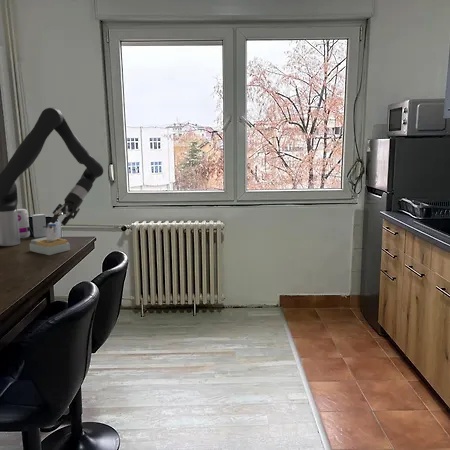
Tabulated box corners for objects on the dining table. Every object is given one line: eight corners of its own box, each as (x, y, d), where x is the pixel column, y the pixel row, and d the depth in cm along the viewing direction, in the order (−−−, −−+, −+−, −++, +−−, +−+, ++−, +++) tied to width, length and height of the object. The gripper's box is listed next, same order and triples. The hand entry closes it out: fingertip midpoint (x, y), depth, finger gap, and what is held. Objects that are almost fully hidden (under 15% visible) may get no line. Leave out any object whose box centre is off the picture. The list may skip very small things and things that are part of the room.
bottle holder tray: (30, 250, 198) (29, 240, 197) (51, 246, 207) (50, 236, 206) (48, 255, 189) (47, 244, 188) (70, 250, 198) (69, 239, 197)
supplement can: (22, 238, 224) (19, 211, 221) (9, 238, 226) (6, 210, 224) (33, 235, 231) (30, 208, 229) (21, 234, 234) (18, 208, 231)
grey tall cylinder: (45, 251, 196) (43, 225, 194) (54, 249, 200) (51, 223, 198) (51, 252, 194) (49, 226, 192) (59, 250, 198) (57, 224, 195)
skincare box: (35, 237, 226) (32, 215, 224) (33, 236, 229) (31, 214, 227) (47, 236, 229) (45, 214, 227) (45, 235, 233) (43, 213, 231)
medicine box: (53, 237, 227) (52, 221, 226) (61, 237, 227) (60, 221, 226) (48, 240, 219) (47, 224, 218) (57, 240, 220) (55, 223, 218)
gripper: (62, 191, 206) (42, 217, 199) (80, 192, 198) (61, 220, 191) (72, 200, 211) (53, 226, 204) (90, 202, 203) (72, 229, 196)
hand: (57, 223), depth 198 cm, fingers open, 8 cm apart
